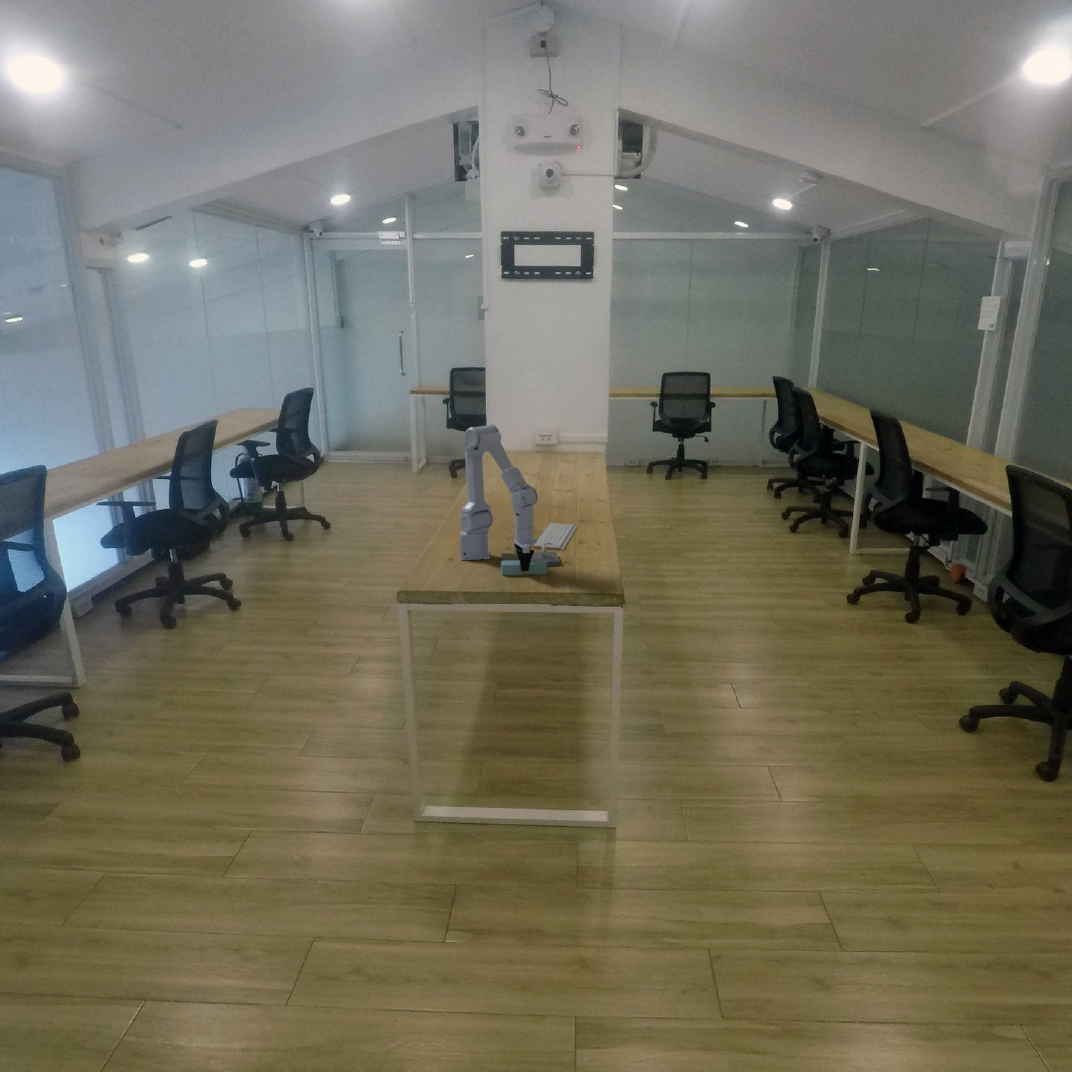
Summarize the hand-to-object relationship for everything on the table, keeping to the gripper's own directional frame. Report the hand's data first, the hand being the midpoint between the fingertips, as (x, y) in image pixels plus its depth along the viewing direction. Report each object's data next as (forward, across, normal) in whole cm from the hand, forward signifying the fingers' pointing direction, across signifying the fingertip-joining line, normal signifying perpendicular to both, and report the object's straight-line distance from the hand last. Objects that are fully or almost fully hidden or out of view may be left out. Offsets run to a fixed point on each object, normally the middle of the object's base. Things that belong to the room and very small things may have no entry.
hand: (524, 568), depth 235 cm
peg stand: (+1, +10, -3) cm, 11 cm away
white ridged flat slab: (+2, +38, -16) cm, 41 cm away
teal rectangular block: (+2, 0, 0) cm, 2 cm away
